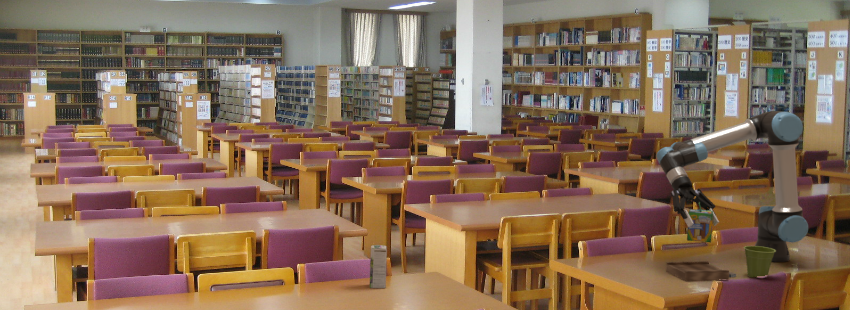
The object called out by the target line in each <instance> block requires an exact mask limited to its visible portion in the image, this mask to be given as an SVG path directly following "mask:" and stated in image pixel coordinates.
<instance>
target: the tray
mask: <svg viewBox="0 0 850 310" xmlns="http://www.w3.org/2000/svg"><path fill="white" fill-rule="evenodd" d="M665 272H667V273H668V274H670V275H672V276H674V277H677V278H678V279H680V280H682V281H684V282H705V281H707V282H708V281H711V282H712V280H717V281H720V280H719V279H729V280H730V277H729V272H730V270H729V269H722V268H720V267H717V266H715V265H713V264H710V261H709V260H707V261H704V260H703V261H700V260H699V261H667V262H666V265H665Z"/></svg>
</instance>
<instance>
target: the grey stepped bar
mask: <svg viewBox="0 0 850 310" xmlns="http://www.w3.org/2000/svg"><path fill="white" fill-rule="evenodd" d="M731 277H732V278H736V277H737V273H736V272H735V273H734V272H730V271H729V278H731Z"/></svg>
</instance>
